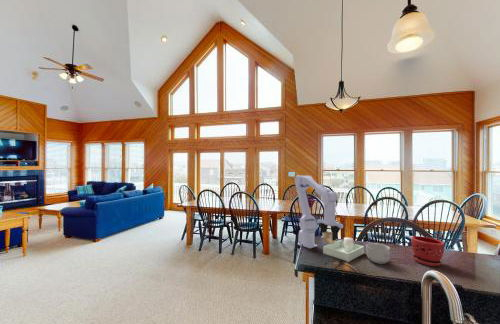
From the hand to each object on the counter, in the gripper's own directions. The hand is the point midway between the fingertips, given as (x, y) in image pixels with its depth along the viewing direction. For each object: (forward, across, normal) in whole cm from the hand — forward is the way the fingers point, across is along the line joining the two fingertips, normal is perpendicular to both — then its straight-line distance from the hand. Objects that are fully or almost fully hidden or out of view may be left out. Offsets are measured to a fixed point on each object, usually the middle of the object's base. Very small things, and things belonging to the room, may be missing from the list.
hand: (329, 238), depth 118 cm
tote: (+9, +2, +11) cm, 14 cm away
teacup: (+10, +18, +16) cm, 26 cm away
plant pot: (+10, +35, +34) cm, 50 cm away
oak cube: (+2, 0, 0) cm, 2 cm away
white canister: (+9, +3, +16) cm, 18 cm away
